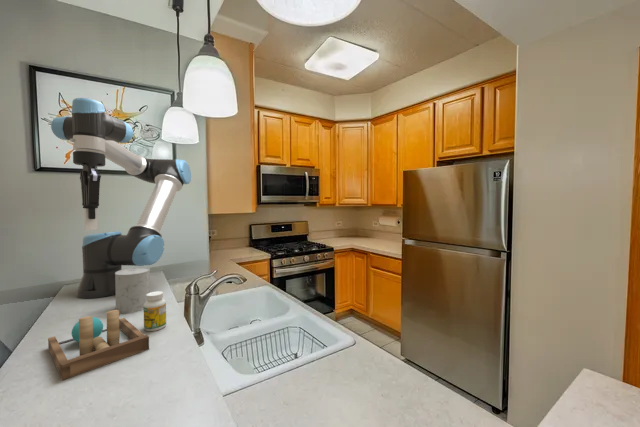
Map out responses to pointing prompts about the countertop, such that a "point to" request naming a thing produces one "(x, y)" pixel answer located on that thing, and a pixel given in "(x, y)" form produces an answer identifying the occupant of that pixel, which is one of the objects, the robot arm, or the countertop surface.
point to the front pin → (99, 343)
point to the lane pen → (99, 352)
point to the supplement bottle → (154, 311)
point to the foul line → (73, 339)
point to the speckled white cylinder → (131, 289)
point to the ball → (96, 329)
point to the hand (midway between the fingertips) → (91, 229)
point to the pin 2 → (112, 327)
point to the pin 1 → (85, 335)
